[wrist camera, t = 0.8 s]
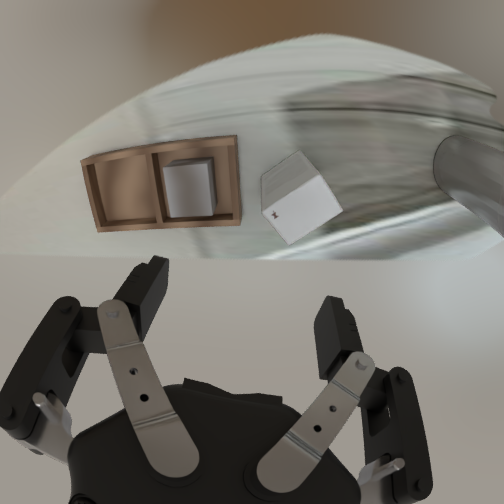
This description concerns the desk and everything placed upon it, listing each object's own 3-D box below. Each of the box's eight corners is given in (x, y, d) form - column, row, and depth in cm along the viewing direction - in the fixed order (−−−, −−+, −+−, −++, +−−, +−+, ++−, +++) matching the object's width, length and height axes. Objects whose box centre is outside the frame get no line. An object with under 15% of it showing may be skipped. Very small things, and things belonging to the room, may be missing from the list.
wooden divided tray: (236, 135, 31) (232, 140, 27) (241, 215, 36) (238, 233, 32) (92, 155, 32) (72, 164, 28) (107, 223, 37) (91, 239, 33)
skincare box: (280, 201, 35) (287, 248, 25) (260, 175, 33) (258, 212, 23) (319, 175, 33) (345, 212, 23) (300, 148, 31) (319, 171, 21)
